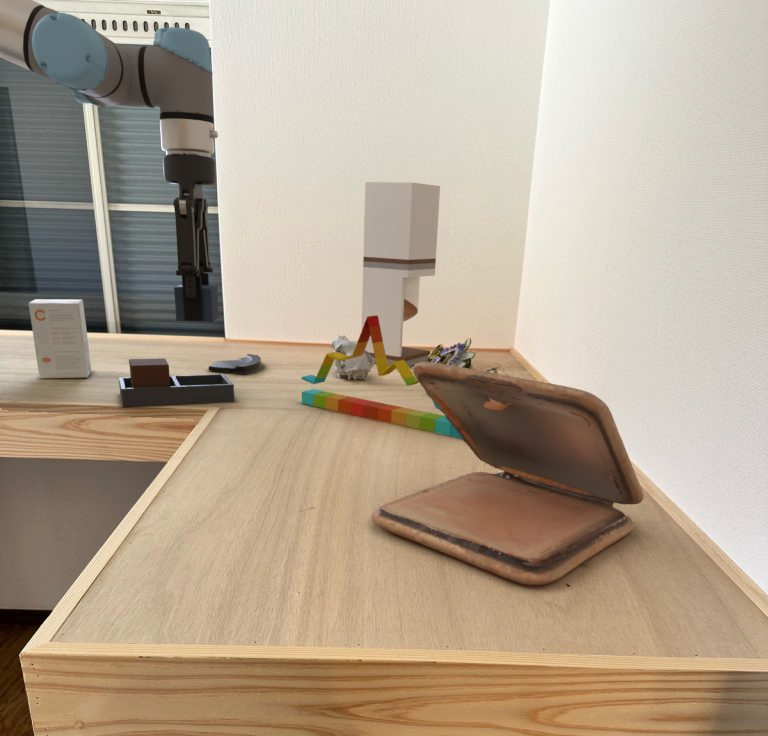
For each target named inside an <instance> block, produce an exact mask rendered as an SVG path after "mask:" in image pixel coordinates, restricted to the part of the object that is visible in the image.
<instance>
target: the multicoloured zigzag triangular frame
mask: <svg viewBox="0 0 768 736" xmlns="http://www.w3.org/2000/svg"><path fill="white" fill-rule="evenodd" d="M370 335H371V339H372V344H373V349H374V354H375V359H376V363H375V364H376V370H377V374H378V377H383V376H387V375H390V374H391V373H393V371H395V370H397V372H398V373H399V375H400V377H401V378H402V380H403V382H404V383H405V385H406V386H407V387H409V386H414V385H417V384H420V383H419V381H418V380H417V379H416V378H415V376H414V373H413V371H412V370H411V369H410V366H408V365H407V364H406V362H405V361H404V360H400V361H396V362H393V363H392V364H391V365H388V364H387V359H386V354H385V349H384V344H383V339H382V334H381V329H380V324H379V319H378V316H369V317H367V318H366V321H365V324H364V326H363V329H362V328H361V332H360V335H359V337H358V340H357V341H358V342H357V344H356V347H355V350H354V352H353V355H350V356H347V355H344V354H342V353H339V352H334V351H333V352H327V353H326V354H325V356H324V359H323V360H322V363H321V365H320V367H319V370H318V372H317V374H316V375H314V374H308V375H305V376H301V380H302V381H304V382H307V383H308V384H309V383H310V384H311V385H316V384H321V383H325V382H326V379H327V377H328V375H329V373H330V371H331V368H332V366H333V365H334V360H335V359H336V360H338V361H341V360H346V359H351V358H355V357H358V356H362V355H363V353H364V351H365V348H366V346H367V343H368V340H369V338H370ZM432 403H433V405H434V407H435V409H436V410H438V411H440V409H439V407H438V406H437V405H436V404H435V402H434V401H433V400H432ZM301 404H304V405H308V406H312V407H316V408H320V409H326V410H329V411H334V412H339V413H343V414H348V415H351V416H352V415H353V416H358V417H360V418H361V417H362V418H366V419H371V420H376V421H381V422H385V423H388V424H393V425H399V426H402V427H403V426H404V427H407V428H413V429H417V430H420V431H427V432H431V433H435V434H440V435H444V436H450V437H454V438H458V439H462V437H461V436H460V435H459V433H458V432H457V431H456V429H455V428H454V427H453V426H452V425H451V423H450V422H449V421H448V420H447V418H446V416H445V415H444V414H438V413H433V412H428V411H424V410H418V409H414V408H408V407H403V406H399V405H393V404H388V403H384V402H379V401H374V400H368V399H364V398H359V397H354V396H349V395H344V394H339V393H335V392H331V391H330V392H329V391H325V390H322V389H317V388H311V389H308V390H303V391H301Z"/></svg>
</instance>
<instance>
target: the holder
mask: <svg viewBox="0 0 768 736" xmlns="http://www.w3.org/2000/svg"><path fill="white" fill-rule="evenodd" d="M118 387H119V396H120V400H121V405H122V407H123V408H131V407H151V406H153V407H154V406H173V405H194V404H213V403H214V404H215V403H233V402H235V385H234V383H233V382H232V381H231V380H230V379H229V377H228V376H227V375H226V374H225V373H212V374H211V373H210V374H208V373H207V374H205V373H204V374H179V375H170V386H164V387H139V388H132V386H131V376H126V377H125V376H124V377H123V376H121V377H118Z"/></svg>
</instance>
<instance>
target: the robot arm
mask: <svg viewBox="0 0 768 736" xmlns="http://www.w3.org/2000/svg"><path fill="white" fill-rule="evenodd" d="M153 37H154V40H153V42H152V43H153V45H147V46H146V45H144V46H143V45H142V46H141V45H126V44H117V43H115V42H114V41H112V40H111V39H109V38H108V37H106V36H105V35H103V34H102V33H100V32H99V31H98V30H97V29H95V28H94V27H93V26H92V25H91V24H90V23H88V22H87V21H85V20H83V19H82V18H79V17H77V16H75V15H72V14H69V13H66V12H60V11H57V10H55V9H52V8H50V7H47V6H45V5H44V4H42V3H39V2H38V1H35V0H0V58H1V59H2V60H5V61H8V62H10V63H11V64H14V65H17V66H18V67H22V68H24V69H26V70H29V71H31V72H33V73H35V74H37V75H38V76H41V77H44V78H46V79H49V80H51V81H53V82H54V83H56V84H58V85H60V86H62V87H65V88H67V89H69V91H70V93H71V94H72V95H73V97H74V99H75V100H76V101H77V102H78V103H80V104H83V105H89V106H90V105H91V106H97V107H100V108H106V107H130V108H131V107H136V108H149V109H157V108H158V110H159V128H160V143H161V144H160V145H161V146H160V147H161V150H162V151H163V152H165V155H163V157H162V168H163V180H164V182H165V183H167V184H170V185H178V197H175V198H174V199H173V203H172V204H173V205H172V206H173V210H174V216H175V218H174V219H175V232H176V233H175V234H176V251H177V269H176V270H175V273H176V274H175V275H176V276H181V283H182V284H181V285H183V301H184V317H185V320H197V321H203V305H202V285H210V278H209V277H210V276H209V275H210V273H211V274H212V273H214V267H211V265H212V263H211V250H210V233H209V219H208V218H209V204H208V200H207V198H204V192H203V186H207V187H209V186H214V185H216V184H217V169H216V166H217V165H216V160H215V159H214V157H211V155H214V153H215V152H216V151H215V141H214V139H217V138H218V137H219V133H218V131H217V130H214V129H215V128H214V105H213V104H214V99H213V76H214V75H213V70H212V63H211V62H212V61H211V51H210V42H209V40H208V39H207V37H206V36H205V35H204V34H203V33H201V32H200V31H198V30H194V29H190V28H186V27H184V28H183V27H173V26H172V27H170V26H169V27H161V28H158V29H156V31H155V32H154V36H153ZM197 321H196V322H197Z"/></svg>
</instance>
